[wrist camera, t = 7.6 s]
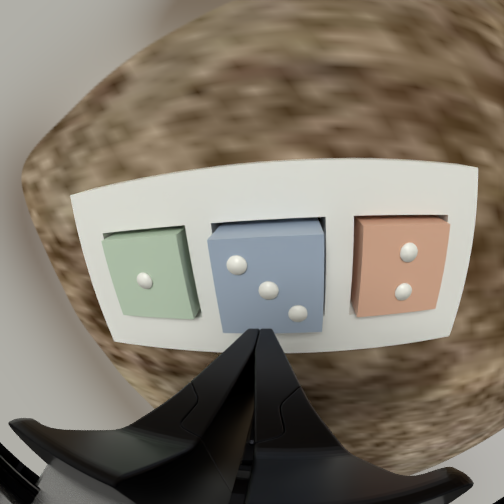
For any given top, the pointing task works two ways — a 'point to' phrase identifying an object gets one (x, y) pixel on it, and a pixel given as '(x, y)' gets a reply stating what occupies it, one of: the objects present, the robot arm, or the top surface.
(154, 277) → the button one dot
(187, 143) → the top surface
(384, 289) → the button two dots
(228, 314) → the button three dots
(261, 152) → the top surface
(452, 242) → the button panel
